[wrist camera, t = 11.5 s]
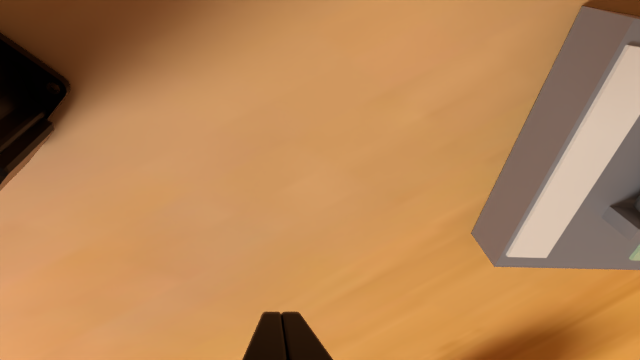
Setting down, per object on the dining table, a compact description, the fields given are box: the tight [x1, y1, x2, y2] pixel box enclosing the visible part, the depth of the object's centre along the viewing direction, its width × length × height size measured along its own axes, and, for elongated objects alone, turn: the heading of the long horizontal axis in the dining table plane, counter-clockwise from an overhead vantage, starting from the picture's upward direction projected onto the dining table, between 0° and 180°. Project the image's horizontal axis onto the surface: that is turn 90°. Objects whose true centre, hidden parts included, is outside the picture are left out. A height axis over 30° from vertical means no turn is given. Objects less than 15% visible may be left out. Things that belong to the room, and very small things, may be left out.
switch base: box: [471, 6, 640, 270], centre depth 21 cm, size 12×14×5 cm
